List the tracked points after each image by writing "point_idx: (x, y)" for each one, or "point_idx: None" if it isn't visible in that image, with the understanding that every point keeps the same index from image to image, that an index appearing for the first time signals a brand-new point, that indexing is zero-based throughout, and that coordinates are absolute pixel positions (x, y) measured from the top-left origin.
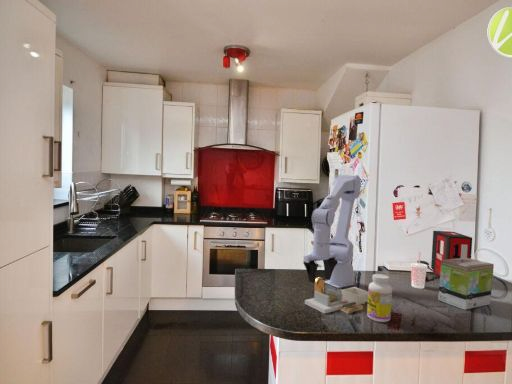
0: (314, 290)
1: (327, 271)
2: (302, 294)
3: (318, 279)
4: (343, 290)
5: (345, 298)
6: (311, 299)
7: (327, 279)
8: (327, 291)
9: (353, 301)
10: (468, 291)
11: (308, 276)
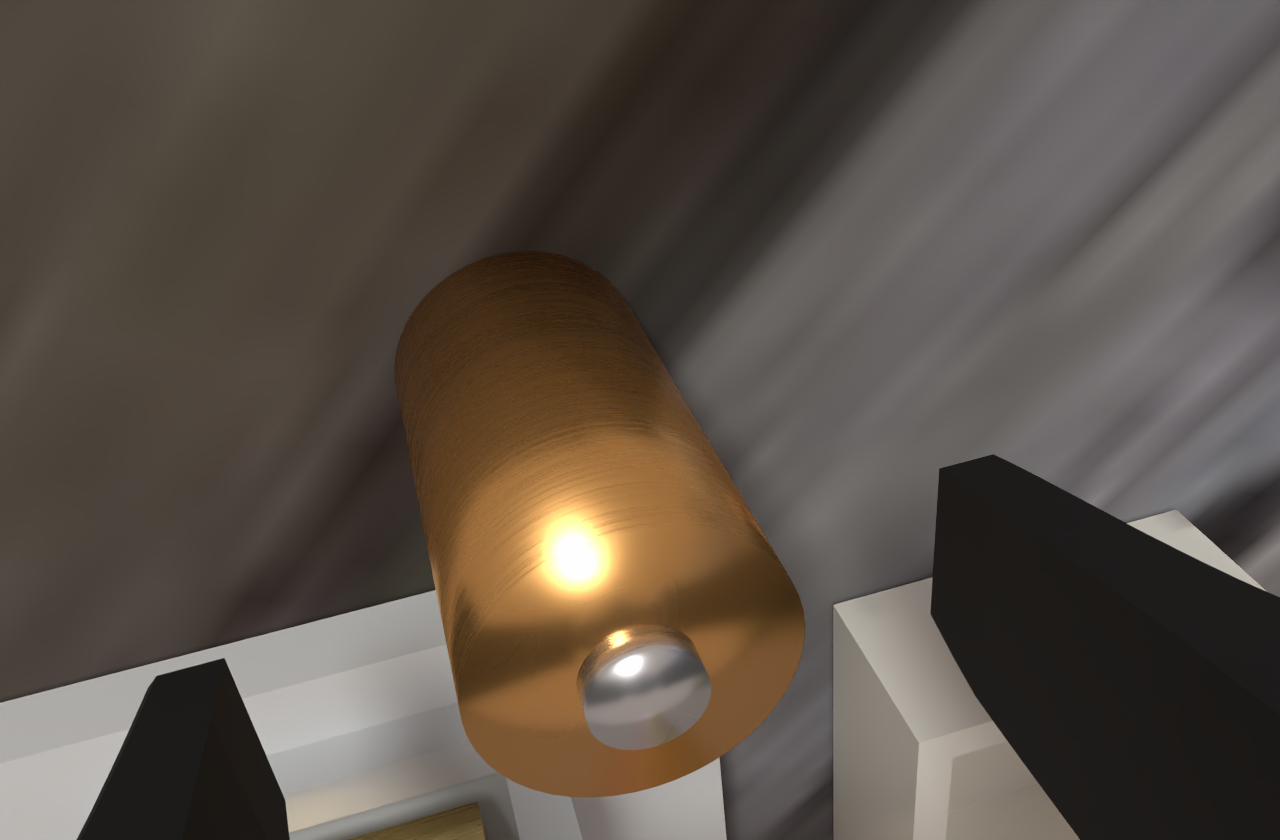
0: (426, 376)
1: (1111, 742)
2: (63, 198)
3: (533, 731)
4: (917, 775)
5: (850, 706)
6: (41, 788)
7: (934, 571)
8: (519, 829)
9: (850, 832)
10: None
11: (92, 826)
